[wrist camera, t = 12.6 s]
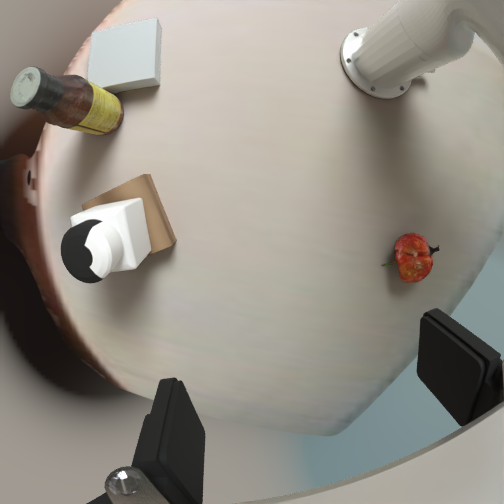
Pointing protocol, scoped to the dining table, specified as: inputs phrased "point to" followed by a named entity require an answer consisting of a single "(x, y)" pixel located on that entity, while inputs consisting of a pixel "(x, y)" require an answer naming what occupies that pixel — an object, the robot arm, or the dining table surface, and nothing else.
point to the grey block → (126, 56)
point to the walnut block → (153, 209)
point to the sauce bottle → (67, 101)
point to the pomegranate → (413, 257)
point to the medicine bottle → (106, 240)
